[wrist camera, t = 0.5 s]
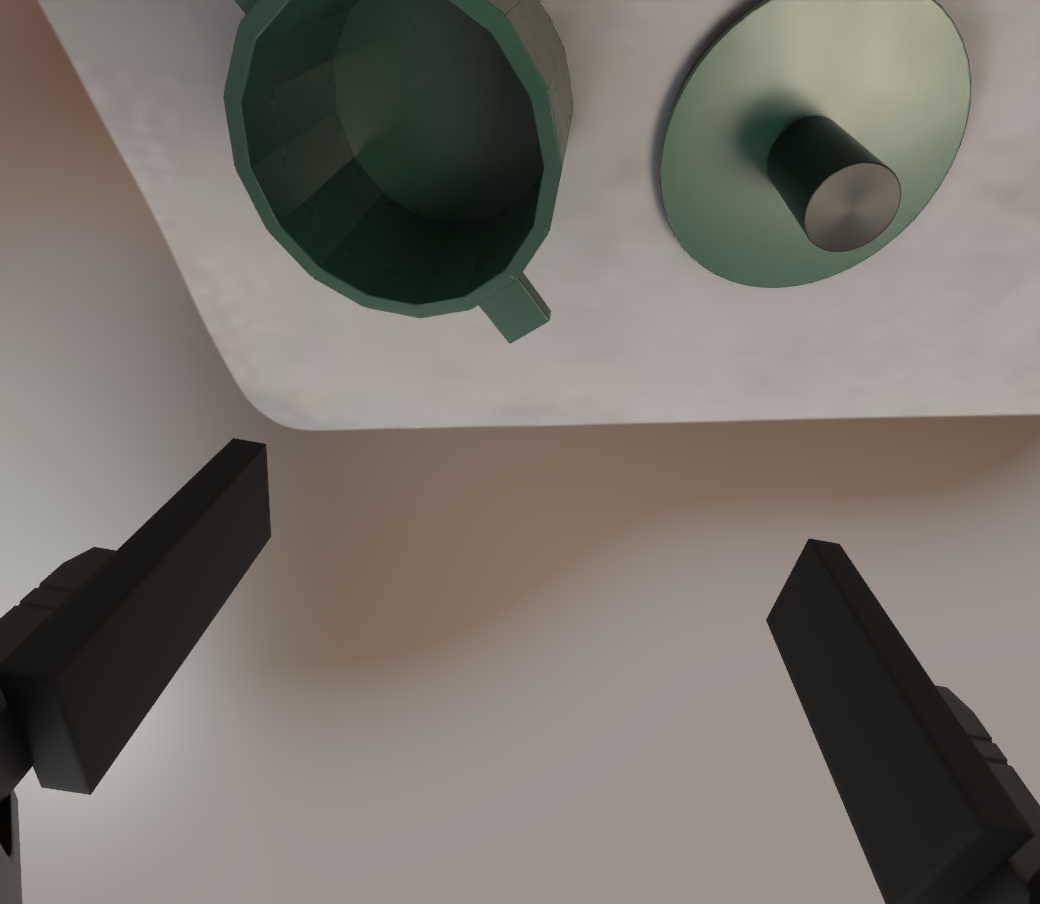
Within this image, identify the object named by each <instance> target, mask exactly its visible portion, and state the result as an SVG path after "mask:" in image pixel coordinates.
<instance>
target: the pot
mask: <svg viewBox="0 0 1040 904" xmlns="http://www.w3.org/2000/svg"><path fill="white" fill-rule="evenodd" d="M235 1H236V3H237V4H238V5H239V6H240V8H241V9H242V10H243V11H244V13H245V14H246V15H245V16H244V17H243V19H242V20H241V21H240V24H239V25H238V30H237V34H236V39H235V44H234V48H233V53H232V57H231V62H230V67H229V71H228V76H227V80H226V85H225V90H224V103H225V110H226V116H227V122H228V128H229V134H230V140H231V147H232V153H233V159H234V165H235V167H236V171H237V173H238V175H239V177H240V179H241V180H242V182H243V184H244V186H245V188H246V190H247V192H248V194H249V196H250V198H251V200H252V202H253V204H254V206H255V208H256V210H257V212H258V214H259V216H260V218H261V219H262V221H263V223H264V225H265V227H266V229H268V232H269V233H270V234H271V235H272V236H273V237H274V238H275V239H276V240H277V241H278V242H279V243H280V244H281V245H282V246H283V247H284V248H285V249H286V251H287V252H288V253H289V254H290V255H291V256H292V257H293V258H294V259H295V260H296V261H297V262H298V263H299V264H300V265H301V266H302V267H303V268H304V269H305V270H306V272H307V273H308V274H309V275H310V276H312V277H313V278H314V279H316V280H317V281H319V282H321V283H323V284H324V285H326V286H328V287H330V288H331V289H333V290H335V291H337V292H338V293H340V294H342V295H344V296H346V297H347V298H349V299H351V300H353V301H354V302H356V303H358V304H360V305H361V306H363V307H364V306H365V307H366V308H371V309H376V310H381V311H386V312H391V313H396V314H401V315H406V316H411V317H416V318H418V317H419V318H424V317H430V316H436V315H442V314H448V313H454V312H460V311H466V310H471V309H473V308H474V307H476V306H478V305H479V306H480V307H481V309H482V310H483V311H484V312H485V314H486V315H487V316H488V317H489V319H490V320H491V321H492V322H493V324H494V325H495V326H496V327H497V329H498V330H499V331H500V332H501V334H502V335H503V336H504V337H505V339H506V340H507V341H508V342H509V343H512V342H514V341H515V340H517V339H519V338H521V337H522V336H524V335H526V334H528V333H529V332H531V331H533V330H535V329H536V328H538V327H540V326H541V325H543V324H545V323H547V322H548V321H549V320H550V314H551V310H550V309H549V308H548V306H547V305H546V303H545V302H544V301H543V299H542V298H541V297H540V295H539V294H538V292H537V291H536V290H535V288H534V287H533V285H532V284H531V283H530V281H529V280H528V279H527V277H526V276H525V274H524V273H523V271H524V269H525V268H526V266H527V265H528V263H529V262H530V260H531V259H532V257H533V256H534V254H535V253H536V251H537V250H538V248H539V247H540V245H541V244H542V242H543V241H544V239H545V238H546V236H547V235H548V232H549V231H550V226H551V221H552V216H553V211H554V206H555V201H556V196H557V191H558V186H559V181H560V176H561V171H562V166H563V160H564V155H565V150H566V144H567V139H568V134H569V128H570V123H571V118H572V112H573V101H572V94H571V86H570V76H569V71H568V66H567V61H566V55H565V48H564V45H563V44H562V42H561V40H560V38H559V36H558V34H557V32H556V30H555V28H554V26H553V23H552V21H551V19H550V17H549V16H548V14H547V13H546V11H545V9H544V8H543V6H542V5H541V3H540V2H539V0H235Z"/></svg>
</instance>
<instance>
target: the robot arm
mask: <svg viewBox="0 0 1040 904" xmlns="http://www.w3.org/2000/svg"><path fill="white" fill-rule="evenodd" d="M270 528H271V527H270V508H269V490H268V472H267V454H266V444H263V443H257V442H251V441H246V440H240V439H234V438H233V439H232V440H231V441H230V442H229V443H228V444H227V445H226V446H225V447H224V448H223V449H222V450H221V451H220V452H219V453H217V455H215V456H214V457H213V458H212V459H211V460H210V461H209V462H208V463H207V464H206V465H205V466H204V467H203V468H202V469H201V470H200V471H199V472H198V473H197V474H196V475H195V476H194V477H193V478H192V479H191V480H189V481H188V482H187V483H186V484H185V486H183V487H182V488H181V489H180V490H179V491H178V492H177V493H176V494H175V495H174V496H173V497H172V498H171V499H170V500H169V501H168V502H167V503H166V504H165V505H164V506H163V507H161V508H160V509H159V510H158V511H157V512H156V513H155V514H154V515H153V516H152V517H151V518H150V519H149V520H148V521H147V522H146V523H145V524H144V525H143V526H142V527H141V528H140V529H139V530H138V531H137V532H136V533H135V534H134V535H132V536H131V537H130V538H129V539H128V540H127V541H126V542H125V543H124V544H123V545H122V546H121V547H120V548H119V549H118V550H117V551H115V550H109V549H103V548H97V547H93V548H92V549H90V550H88V551H86V552H84V553H82V554H80V555H78V556H76V557H74V558H72V559H70V560H68V561H66V562H64V563H63V564H62V565H60V566H59V567H58V568H57V569H56V570H55V571H54V572H53V573H51V575H49V576H48V577H47V578H46V579H45V580H43V581H42V582H41V583H40V586H39V588H34V589H33V590H32V591H31V592H30V593H29V594H28V595H26V596H25V597H24V598H23V599H22V600H21V601H20V604H19V605H18V606H14V607H13V608H12V609H11V610H10V611H8V612H7V613H6V614H5V615H4V616H3V617H2V618H0V904H22V888H21V865H20V842H19V820H18V799H17V797H16V794H15V792H14V788H15V787H16V786H17V784H18V783H19V782H20V781H21V779H22V778H23V777H24V776H25V774H26V773H27V772H28V771H29V770H30V768H31V767H32V766H33V768H34V770H35V773H36V775H37V777H38V780H39V782H40V785H41V787H43V788H49V789H56V790H62V791H69V792H76V793H83V794H89V795H91V793H92V792H93V791H94V789H95V788H96V786H97V785H98V783H99V782H100V781H101V779H102V778H103V776H104V775H105V774H106V772H107V771H108V769H109V768H110V766H111V765H112V763H113V762H114V761H115V759H116V758H117V756H118V755H119V753H120V752H121V751H122V749H123V748H124V746H125V745H126V743H127V742H128V741H129V739H130V738H131V736H132V735H133V733H134V732H135V730H136V729H137V728H138V726H139V725H140V723H141V722H142V721H143V719H144V718H145V716H146V715H147V713H148V712H149V710H150V709H151V707H152V706H153V705H154V703H155V702H156V700H157V699H158V697H159V696H160V695H161V693H162V692H163V690H164V689H165V688H166V686H167V685H168V683H169V682H170V680H171V679H172V677H173V676H174V675H175V673H176V671H177V670H178V669H179V667H180V666H181V665H182V663H183V662H184V660H185V659H186V657H187V656H188V655H189V653H190V652H191V650H192V649H193V647H194V646H195V645H196V643H197V642H198V640H199V639H200V637H201V636H202V635H203V633H204V632H205V630H206V629H207V627H208V626H209V624H210V623H211V622H212V620H213V619H214V617H215V616H216V614H217V613H218V611H219V610H220V609H221V607H222V606H223V604H224V603H225V601H226V600H227V599H228V597H229V596H230V594H231V593H232V592H233V590H234V589H235V587H236V586H237V584H238V583H239V581H240V580H241V579H242V577H243V576H244V574H245V573H246V571H247V570H248V569H249V567H250V566H251V564H252V563H253V562H254V560H255V558H256V557H257V556H258V554H259V553H260V551H261V550H262V549H263V547H264V546H265V544H266V543H267V541H268V540H269V538H270V537H271V529H270ZM766 621H767V623H768V626H769V628H770V630H771V633H772V635H773V637H774V640H775V642H776V645H777V647H778V649H779V652H780V654H781V657H782V659H783V661H784V664H785V666H786V668H787V671H788V673H789V676H790V678H791V680H792V683H793V685H794V687H795V690H796V692H797V695H798V697H799V699H800V702H801V704H802V706H803V709H804V711H805V714H806V716H807V718H808V721H809V723H810V726H811V728H812V730H813V733H814V735H815V737H816V740H817V742H818V745H819V747H820V749H821V751H822V754H823V756H824V759H825V761H826V764H827V766H828V768H829V771H830V773H831V775H832V778H833V780H834V782H835V785H836V787H837V790H838V792H839V794H840V797H841V799H842V802H843V804H844V806H845V809H846V811H847V813H848V816H849V818H850V820H851V823H852V825H853V827H854V830H855V832H856V835H857V837H858V840H859V842H860V844H861V847H862V849H863V851H864V854H865V856H866V859H867V861H868V863H869V866H870V868H871V870H872V873H873V875H874V878H875V880H876V882H877V885H878V887H879V889H880V892H881V894H882V896H883V899H884V901H885V904H1040V805H1039V804H1038V803H1037V801H1036V800H1035V799H1034V797H1033V796H1032V794H1031V793H1030V792H1029V790H1028V789H1027V787H1026V786H1025V784H1024V783H1023V781H1022V780H1021V779H1020V777H1019V776H1018V774H1017V773H1016V772H1015V770H1014V769H1013V767H1012V766H1009V765H1008V764H1007V759H1006V757H1005V756H1004V755H1003V753H1002V752H1001V751H1000V749H999V748H998V746H997V745H996V744H994V743H992V741H991V740H992V738H991V736H990V735H989V734H988V732H987V731H986V730H985V728H984V726H983V725H982V724H981V722H980V721H979V719H978V718H977V717H976V715H975V714H974V712H973V711H972V710H971V709H969V708H968V707H967V706H966V705H965V704H964V703H963V702H962V701H961V700H960V699H959V698H958V697H957V696H956V695H955V694H954V693H952V692H951V691H950V690H949V689H948V688H947V687H940V686H935V685H934V684H933V682H932V681H931V679H930V678H929V676H928V675H927V673H926V672H925V670H924V669H923V667H922V666H921V664H920V663H919V661H918V660H917V658H916V657H915V655H914V654H913V652H912V651H911V650H910V648H909V647H908V645H907V643H906V642H905V641H904V639H903V638H902V636H901V634H900V633H899V632H898V630H897V629H896V627H895V626H894V624H893V623H892V621H891V620H890V618H889V617H888V615H887V614H886V612H885V611H884V609H883V608H882V607H881V605H880V603H879V602H878V600H877V599H876V597H875V596H874V594H873V593H872V592H871V590H870V588H869V587H868V586H867V584H866V582H865V581H864V580H863V578H862V577H861V575H860V574H859V572H858V571H857V569H856V568H855V566H854V565H853V563H852V562H851V560H850V559H849V557H848V556H847V554H846V553H845V551H844V550H843V548H842V547H841V545H840V544H837V543H832V542H826V541H820V540H814V539H808V541H807V543H806V545H805V547H804V549H803V551H802V553H801V555H800V556H799V558H798V560H797V562H796V564H795V566H794V568H793V570H792V572H791V574H790V575H789V577H788V579H787V581H786V583H785V585H784V587H783V589H782V591H781V593H780V595H779V596H778V598H777V600H776V602H775V604H774V606H773V608H772V610H771V612H770V613H769V616H768V617H767V619H766Z"/></svg>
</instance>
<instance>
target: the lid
mask: <svg viewBox="0 0 1040 904" xmlns="http://www.w3.org/2000/svg"><path fill="white" fill-rule="evenodd" d="M970 96H971V76H970V68H969V60H968V56H967V53H966V49H965V46H964V43H963V39H962V38H961V36H960V34H959V32H958V30H957V28H956V26H955V24H954V22H953V20H952V19H951V18H950V17H949V15H948V14H947V13H946V12H945V10H944V9H943V8H942V6H941V5H939V4H938V3H937V2H936V1H935V0H764V1H763V2H761V3H760V4H758V5H757V6H755V7H754V8H752V9H751V10H749V11H748V12H746V13H745V14H744V15H743V16H742V17H740V18H739V19H738V20H737V21H735V22H734V23H733V24H732V25H731V26H729V27H728V28H727V29H726V30H725V31H724V32H723V33H722V34H721V36H720V37H719V38H718V39H717V40H716V41H715V42H714V43H713V44H712V45H711V46H710V47H709V49H708V50H707V51H706V52H705V54H704V55H703V56H702V57H701V59H700V60H699V61H698V62H697V64H696V65H695V67H694V68H693V70H692V72H691V73H690V75H689V76H688V78H687V80H686V81H685V83H684V84H683V87H682V89H681V91H680V93H679V95H678V97H677V99H676V101H675V103H674V105H673V108H672V111H671V113H670V116H669V119H668V122H667V125H666V129H665V133H664V137H663V141H662V147H661V156H660V188H661V195H662V201H663V205H664V209H665V212H666V216H667V219H668V221H669V223H670V226H671V228H672V230H673V232H674V234H675V236H676V237H677V239H678V240H679V242H680V243H681V245H682V246H683V248H684V249H685V250H686V251H687V252H688V253H689V254H690V256H691V257H692V258H693V259H695V260H696V261H697V262H698V263H699V264H701V265H702V266H703V267H704V268H706V269H707V270H709V271H711V272H712V273H714V274H716V275H718V276H720V277H722V278H725V279H727V280H729V281H732V282H736V283H739V284H743V285H748V286H755V287H765V288H780V287H791V286H798V285H803V284H807V283H812V282H815V281H819V280H822V279H825V278H828V277H831V276H833V275H836V274H838V273H840V272H842V271H845V270H847V269H849V268H851V267H853V266H855V265H856V264H858V263H860V262H862V261H864V260H865V259H867V258H868V257H870V256H871V255H873V254H874V253H876V252H877V251H879V250H880V249H882V248H883V247H884V246H886V245H887V244H888V243H889V242H890V241H892V240H893V239H894V238H895V237H897V236H898V235H899V234H900V233H901V232H902V231H903V230H904V229H905V228H906V227H907V226H908V225H909V224H910V223H911V222H912V221H913V220H914V219H915V218H916V217H917V216H918V214H919V213H920V212H921V211H922V210H923V209H924V207H925V206H926V205H927V204H928V202H929V201H930V200H931V198H932V197H933V195H934V194H935V192H936V191H937V190H938V188H939V187H940V185H941V184H942V182H943V180H944V178H945V176H946V175H947V173H948V171H949V169H950V167H951V166H952V163H953V161H954V159H955V156H956V154H957V152H958V149H959V147H960V144H961V141H962V138H963V134H964V131H965V128H966V124H967V119H968V113H969V107H970Z"/></svg>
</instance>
